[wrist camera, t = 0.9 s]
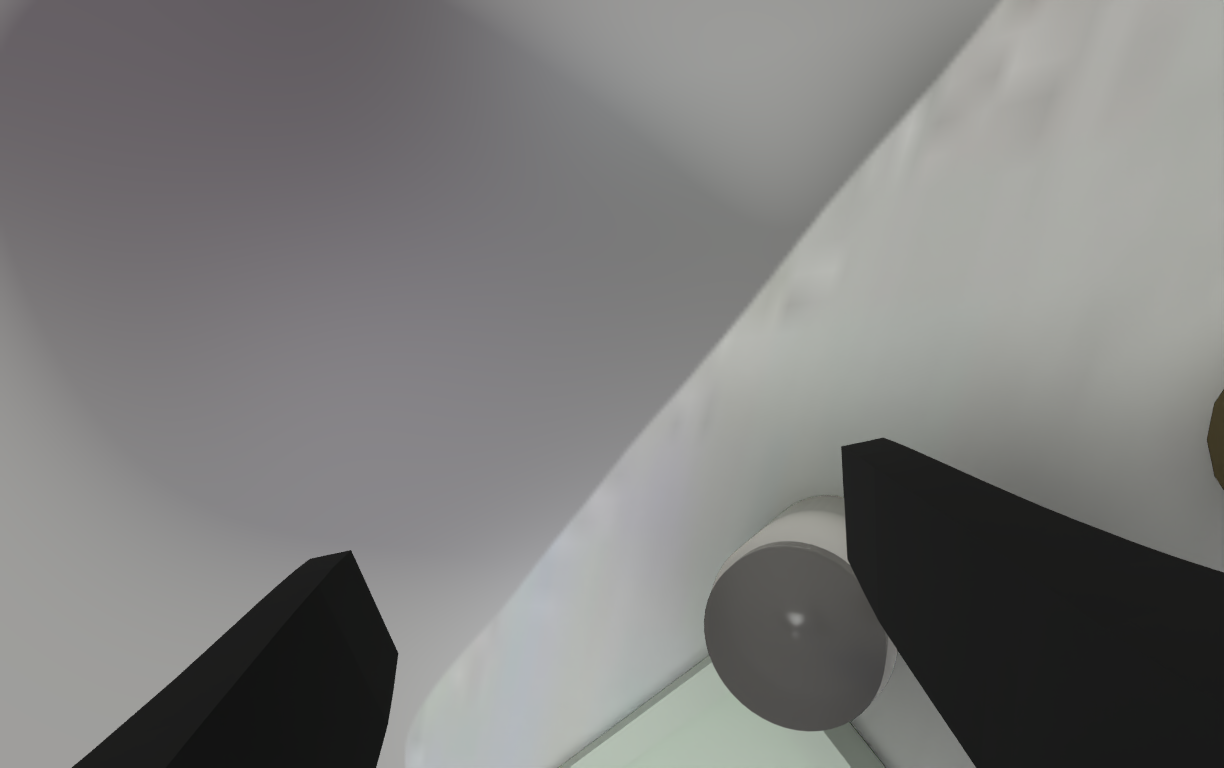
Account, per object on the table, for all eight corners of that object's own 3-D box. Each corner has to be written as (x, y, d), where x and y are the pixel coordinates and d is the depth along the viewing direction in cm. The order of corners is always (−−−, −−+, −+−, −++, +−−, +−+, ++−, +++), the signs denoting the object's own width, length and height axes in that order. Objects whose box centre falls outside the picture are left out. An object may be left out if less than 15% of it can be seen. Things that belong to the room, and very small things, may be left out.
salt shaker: (940, 580, 19) (944, 675, 13) (827, 657, 20) (782, 776, 14) (837, 467, 20) (795, 502, 14) (738, 547, 22) (661, 610, 16)
